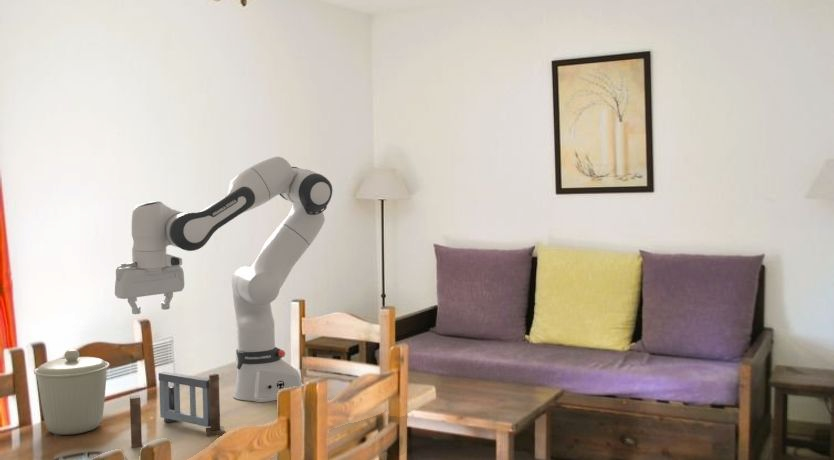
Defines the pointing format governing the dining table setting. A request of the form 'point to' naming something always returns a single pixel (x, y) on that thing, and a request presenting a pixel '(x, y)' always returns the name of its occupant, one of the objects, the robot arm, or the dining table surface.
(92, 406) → the canister
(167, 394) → the gate
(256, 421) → the dining table surface
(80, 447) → the dining table surface
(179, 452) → the dining table surface
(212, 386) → the gate frame
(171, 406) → the stop post
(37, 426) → the dining table surface
